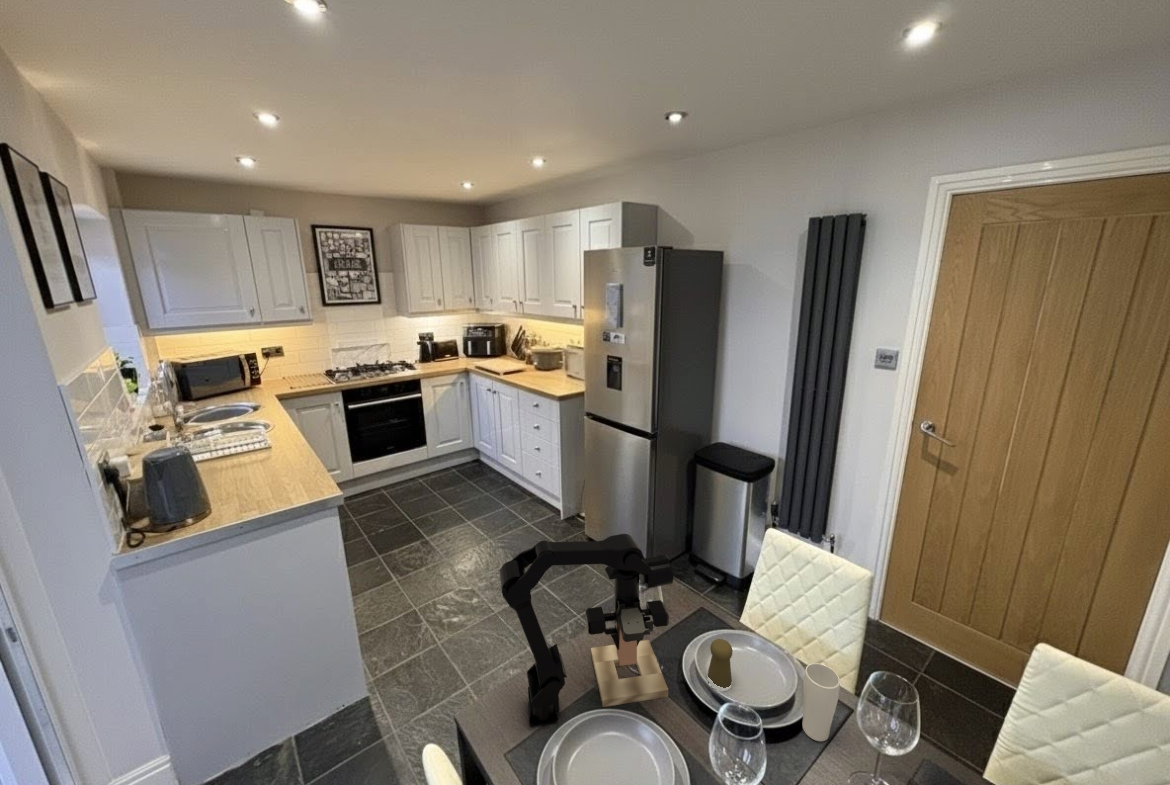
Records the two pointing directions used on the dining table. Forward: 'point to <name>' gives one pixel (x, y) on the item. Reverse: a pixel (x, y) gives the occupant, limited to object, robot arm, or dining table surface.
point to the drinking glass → (819, 700)
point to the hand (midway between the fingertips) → (626, 647)
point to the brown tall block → (626, 650)
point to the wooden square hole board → (628, 688)
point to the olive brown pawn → (720, 663)
